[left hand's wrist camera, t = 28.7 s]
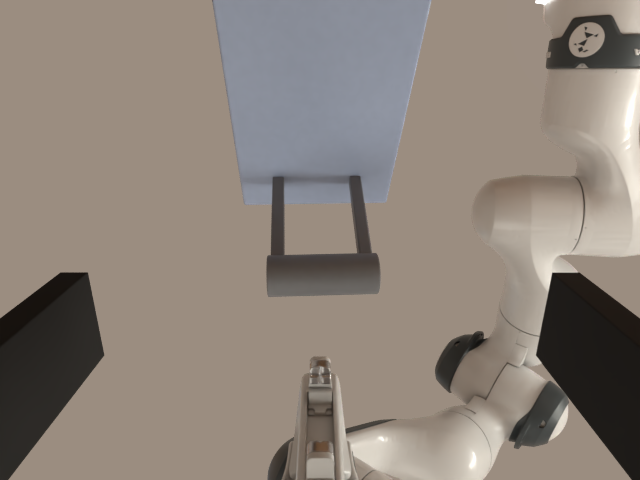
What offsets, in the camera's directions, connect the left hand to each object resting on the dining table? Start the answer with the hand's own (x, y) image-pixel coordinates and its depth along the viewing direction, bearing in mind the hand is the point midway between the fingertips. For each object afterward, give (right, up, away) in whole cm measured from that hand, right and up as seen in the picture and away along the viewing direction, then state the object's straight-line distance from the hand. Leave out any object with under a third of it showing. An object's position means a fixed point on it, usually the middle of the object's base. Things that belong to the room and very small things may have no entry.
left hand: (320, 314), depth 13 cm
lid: (0, +9, +11) cm, 15 cm away
